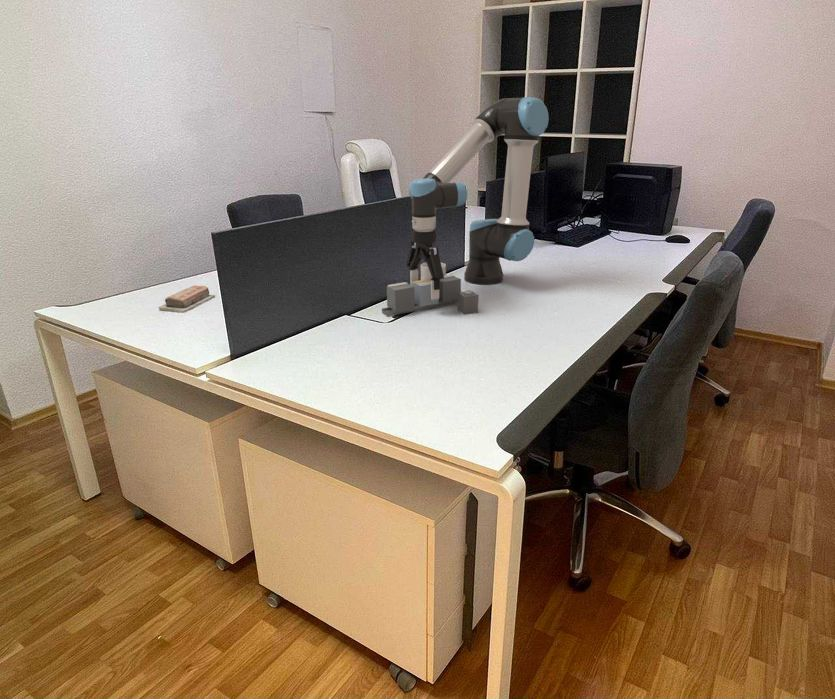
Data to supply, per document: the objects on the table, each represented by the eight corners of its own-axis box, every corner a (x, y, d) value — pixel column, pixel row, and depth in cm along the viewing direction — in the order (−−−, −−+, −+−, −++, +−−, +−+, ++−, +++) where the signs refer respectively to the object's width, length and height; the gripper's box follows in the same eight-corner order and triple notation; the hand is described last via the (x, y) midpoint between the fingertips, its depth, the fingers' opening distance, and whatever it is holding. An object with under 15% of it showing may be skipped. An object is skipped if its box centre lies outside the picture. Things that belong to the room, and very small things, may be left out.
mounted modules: (451, 294, 196) (451, 274, 193) (460, 298, 191) (460, 278, 188) (387, 306, 185) (386, 284, 182) (395, 311, 180) (395, 289, 177)
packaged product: (189, 283, 203) (213, 285, 200) (191, 296, 205) (215, 298, 202) (156, 298, 187) (182, 300, 184) (158, 311, 188) (184, 314, 186)
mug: (448, 298, 198) (448, 267, 193) (423, 299, 196) (423, 268, 192) (440, 288, 209) (440, 259, 204) (417, 290, 207) (416, 260, 203)
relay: (471, 308, 187) (471, 288, 185) (477, 312, 183) (478, 292, 180) (457, 309, 186) (458, 290, 183) (463, 314, 181) (464, 294, 179)
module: (429, 298, 192) (429, 278, 189) (438, 303, 187) (438, 282, 184) (411, 301, 189) (411, 281, 186) (420, 306, 184) (420, 285, 181)
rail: (458, 298, 197) (458, 294, 196) (464, 301, 194) (465, 297, 193) (381, 313, 183) (381, 308, 183) (387, 316, 180) (387, 311, 180)
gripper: (395, 224, 187) (397, 286, 195) (434, 237, 167) (434, 305, 175) (415, 222, 190) (415, 283, 199) (455, 234, 170) (454, 301, 178)
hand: (424, 293), depth 187 cm, fingers open, 13 cm apart
